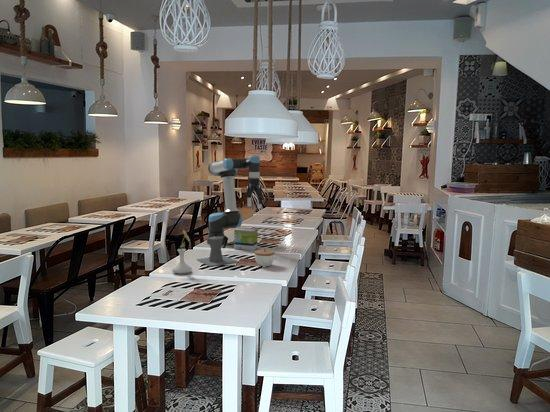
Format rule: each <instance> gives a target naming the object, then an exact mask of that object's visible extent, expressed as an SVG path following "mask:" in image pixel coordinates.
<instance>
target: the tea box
mask: <svg viewBox="0 0 550 412" xmlns="http://www.w3.org/2000/svg"><path fill="white" fill-rule="evenodd" d="M233 235H234V237H233V238H234V240H233V242H234V243H233V247H234V250H245V251H254V250H255V251H256V249H258V228H247V227H238V228H235V229H234V234H233Z"/></svg>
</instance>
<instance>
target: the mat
mask: <svg viewBox="0 0 550 412" xmlns="http://www.w3.org/2000/svg"><path fill="white" fill-rule="evenodd" d="M209 258H210V256H209V257H203V258H196V261H198V262H200V263H201V264H204V265H205V266H208V267H210V268H212V267H217V266H224V265H231V264H236V263H239V261H238V260H236V259H234V258H231V257H229V256H227V255H224V254H222V258H223V261H221V262H210V261H209Z"/></svg>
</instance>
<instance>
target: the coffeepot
mask: <svg viewBox="0 0 550 412" xmlns="http://www.w3.org/2000/svg"><path fill="white" fill-rule="evenodd" d="M207 238H208V237H207ZM207 238H206V242H207V241H208V242H209V244H208V245H209V248H210V253H209V257H210V258H209V257H208V258H209V261H210V262H221V261H223V258H222V256H223V252H222V249H226V246H227V243H228V241H229V238H228V237H227V236H226V235H225V236H221V237H219V236H217V234H216V233H215V236H214V237H210V238H208V239H207ZM223 239H226V240H225V244H222V241H223Z"/></svg>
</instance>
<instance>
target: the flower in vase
mask: <svg viewBox="0 0 550 412" xmlns="http://www.w3.org/2000/svg"><path fill="white" fill-rule="evenodd" d="M182 234H183V235H184V236H183V239H182V241H181V245H180V246H179V247H180V248H178V249H177V252H178V254H179V261H178V263H177V264H176V265H175V266H174V267H173V268H172V270H171V271H172V272H173V273H174V274H179V275H180V274H181V275H182V274H188V273H190V272H192V270H193V269H192V267H191V266H190V265H189V264H188V263H186V262H185V253H186V251H187V249H186V248H183V247H185V243H184V241H185V240H184V239H185V238H186V240H187V242H191V239H190V238H189V235H188V233H187V232H186V231H185V230H184V229H183V230H182Z"/></svg>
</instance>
